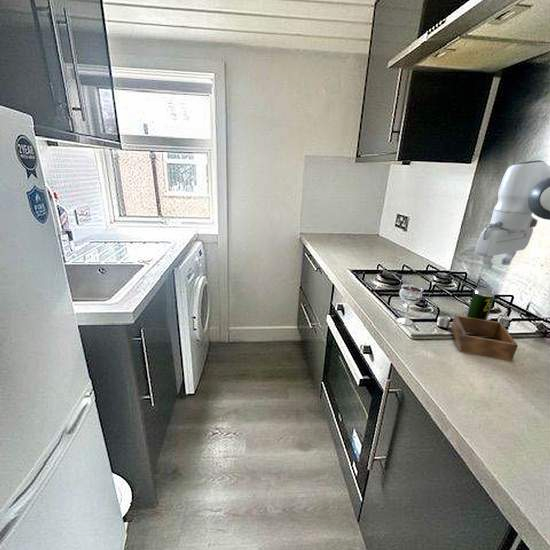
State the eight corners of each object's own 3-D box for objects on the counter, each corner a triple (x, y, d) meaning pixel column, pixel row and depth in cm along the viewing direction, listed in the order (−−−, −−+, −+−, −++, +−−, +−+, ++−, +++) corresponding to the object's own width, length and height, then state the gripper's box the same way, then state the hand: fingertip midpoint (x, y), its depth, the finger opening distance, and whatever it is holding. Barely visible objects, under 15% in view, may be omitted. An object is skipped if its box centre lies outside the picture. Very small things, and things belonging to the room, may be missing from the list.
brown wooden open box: (496, 336, 92) (501, 322, 90) (512, 361, 81) (518, 345, 79) (450, 328, 96) (454, 314, 94) (459, 351, 85) (464, 335, 83)
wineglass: (393, 314, 104) (399, 282, 99) (414, 317, 102) (421, 285, 98) (394, 324, 97) (401, 290, 93) (417, 328, 96) (425, 293, 91)
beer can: (462, 322, 100) (471, 289, 96) (469, 317, 103) (479, 285, 99) (479, 329, 96) (490, 295, 92) (487, 324, 99) (498, 291, 94)
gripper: (499, 226, 79) (485, 275, 84) (541, 220, 88) (526, 265, 93) (475, 221, 85) (464, 268, 90) (517, 216, 93) (504, 259, 98)
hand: (496, 266), depth 91 cm, fingers open, 8 cm apart
